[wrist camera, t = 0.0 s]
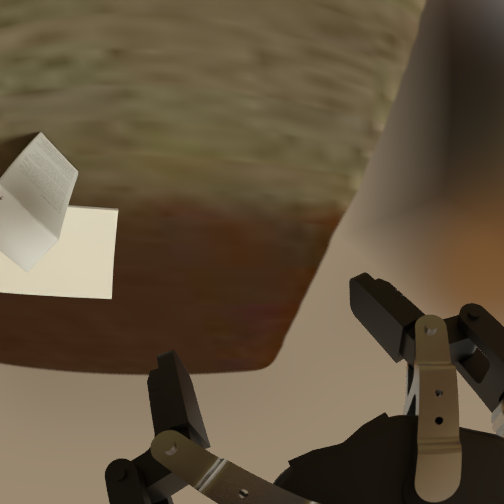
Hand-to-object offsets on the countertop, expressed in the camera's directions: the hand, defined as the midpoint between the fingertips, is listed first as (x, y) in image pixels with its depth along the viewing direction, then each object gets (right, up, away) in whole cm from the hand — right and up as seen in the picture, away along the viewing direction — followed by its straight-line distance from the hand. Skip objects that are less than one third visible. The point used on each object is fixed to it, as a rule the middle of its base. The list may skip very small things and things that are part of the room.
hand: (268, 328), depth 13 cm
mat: (-23, +3, +17) cm, 29 cm away
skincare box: (-20, +11, +12) cm, 26 cm away
